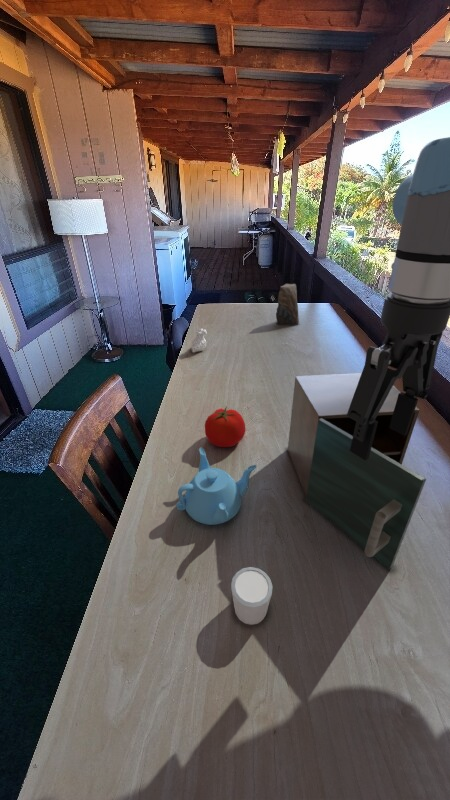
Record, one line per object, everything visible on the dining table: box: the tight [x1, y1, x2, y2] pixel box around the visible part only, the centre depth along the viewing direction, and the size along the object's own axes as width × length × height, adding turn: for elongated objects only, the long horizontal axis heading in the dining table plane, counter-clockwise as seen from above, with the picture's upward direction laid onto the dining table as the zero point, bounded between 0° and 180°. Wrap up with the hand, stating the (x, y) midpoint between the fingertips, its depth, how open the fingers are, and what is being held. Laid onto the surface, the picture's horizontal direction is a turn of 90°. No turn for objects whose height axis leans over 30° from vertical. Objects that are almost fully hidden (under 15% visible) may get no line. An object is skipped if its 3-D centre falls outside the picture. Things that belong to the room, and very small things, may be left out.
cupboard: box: [287, 372, 421, 498], centre depth 86 cm, size 18×22×24 cm
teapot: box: [175, 447, 257, 526], centre depth 79 cm, size 15×15×10 cm
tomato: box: [204, 405, 246, 448], centre depth 100 cm, size 12×12×10 cm
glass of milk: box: [230, 566, 273, 626], centre depth 60 cm, size 7×7×7 cm
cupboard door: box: [305, 418, 427, 571], centre depth 67 cm, size 7×22×23 cm, turn 35°
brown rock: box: [275, 283, 300, 326], centre depth 190 cm, size 13×13×20 cm
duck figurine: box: [191, 328, 208, 353], centre depth 159 cm, size 12×8×11 cm
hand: (379, 442), depth 54 cm, fingers open, 9 cm apart
